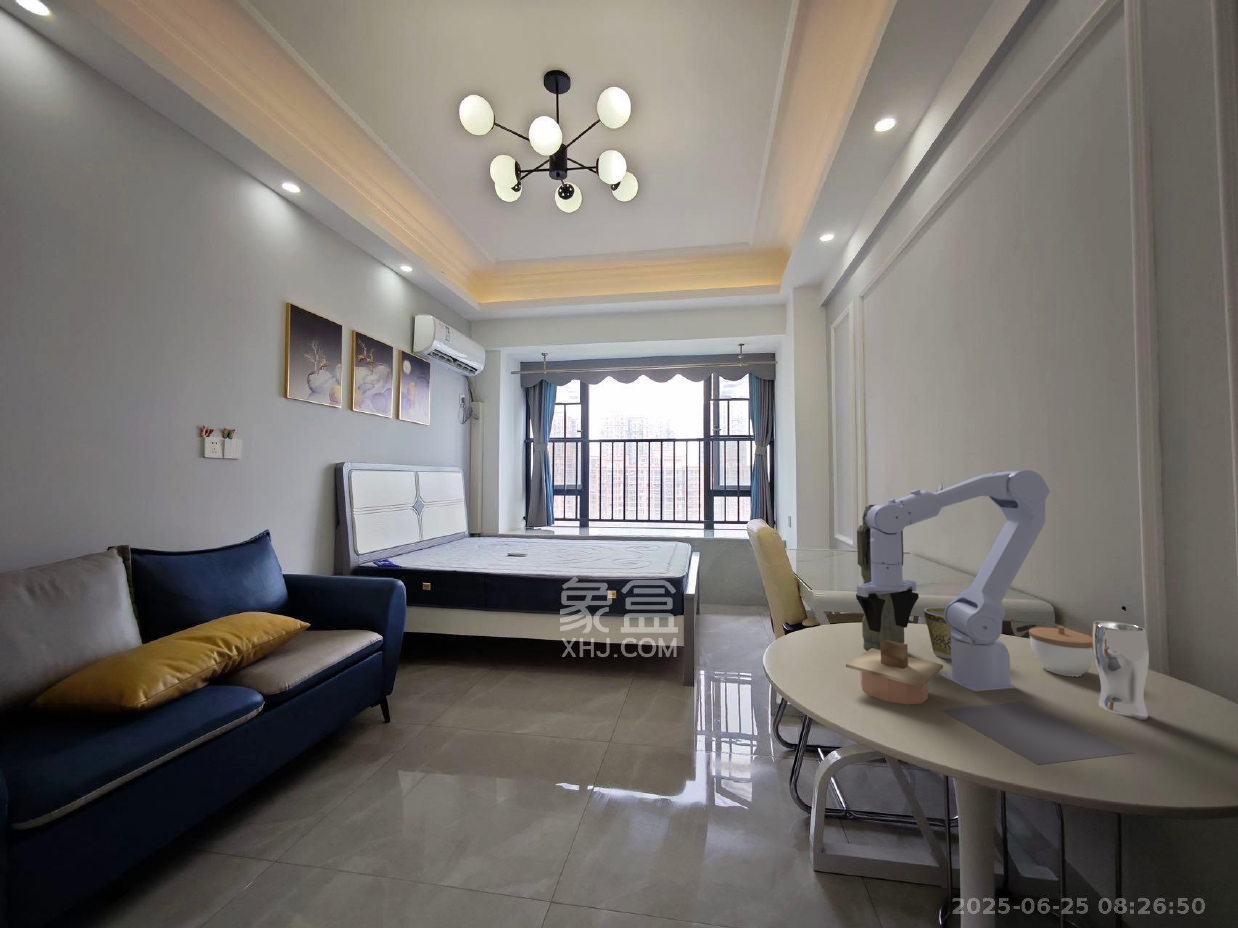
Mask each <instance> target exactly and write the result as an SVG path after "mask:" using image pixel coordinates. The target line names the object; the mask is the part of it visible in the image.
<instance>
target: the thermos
mask: <svg viewBox="0 0 1238 928" xmlns="http://www.w3.org/2000/svg"><path fill="white" fill-rule="evenodd" d="M875 505H876V504H868V506H865V508H864V511H863V513H862V524H861V525H859V526H858V528H857V529H856V541H857V543H856V544H857V545H856V546H857V548H856V549H857V565H858V566H859V567H860V575H861V577H862V579H863V581H862V582H863V584H866V583H869V582H871V546H870V539H871V534H870V527H869V526H868V525H867V523H866V521H865V517H867V513H868V511H869V510H870V508H872V507H873V506H875ZM903 532H904V529H903V530H902V531H901V543H902V567H903V566H904V533H903ZM877 596H878V598H880V599H884V600H886V601H885V603H884V606H883V610H882V615H881V629H880V632H875V631H872V630H869V626H868V623H867V619H866V616H865V614H864V613H863V617H862V620H861V623H862V624H861V628H862V629H861V631H862V632H861V634H862V638H863V649H864V650H865V651H868V650H870V649H871V648H873V649H878V650H881V645H880V642H882V641H883V640H889V641H894V642H898V643H903V644H905V628H904V627H901V626H897V625H896V623H895V616H894V607H893V602H892V599H891V596H890V594H889V593H886V594H878V595H877Z"/></svg>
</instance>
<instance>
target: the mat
mask: <svg viewBox="0 0 1238 928" xmlns="http://www.w3.org/2000/svg"><path fill="white" fill-rule="evenodd" d="M940 711H941V712H943V713H945V714H947V715H949V716H950V717H952V718H954V719H956V720H957V721H959V722H961V723H962V724H964V725H966V726H968V727H970V728H971V729H973V730H975V731H976V732H979V733H981V734H983V736H986V737H987V738H989V739H991V740H993V741H994V742H997V743H998V744H1000V745H1002V746H1003V747H1005V748H1007V749H1009V750H1010V751H1012V752H1014V753H1016V754H1017V755H1020V756H1021V757H1023V758H1025V759H1026V760H1027V761H1030V762H1032V763H1033V764H1036V765H1037V766H1040V765H1050V764H1055V763H1056V764H1057V763H1064V762H1072V761H1074V762H1075V761H1079V760H1088V759H1097V758H1104V757H1112V756H1121V755H1129V754H1135V752H1134V751H1132V750H1129V749H1128V748H1126V747H1123V746H1121V745H1119V744H1116V743H1114V742H1112V741H1110V740H1107V739H1105V738H1103V737H1101V736H1099V735H1097V734H1094V733H1092V732H1089V731H1088V730H1085V729H1083V728H1081V727H1079V726H1077V725H1074V724H1072V723H1070V722H1068V721H1065V720H1064V719H1061V718H1059V717H1056V716H1054V715H1053V714H1049V713H1048V712H1045V711H1043V710H1041V709H1038V708H1037V707H1034V706H1032V705H1030V704H1027V703H1026V702H1024V701H1019V702H1018V701H1017V702H1007V703H996V704H988V705H986V704H985V705H977V706H965V707H956V708H944V709H940Z"/></svg>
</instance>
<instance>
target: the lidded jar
mask: <svg viewBox="0 0 1238 928" xmlns="http://www.w3.org/2000/svg"><path fill="white" fill-rule="evenodd" d="M1028 636H1029V643H1030V649H1031V652H1032V654H1033V656H1034V658H1035V659H1036V661H1037V662H1038V663H1039V664H1040V665H1042V666H1043V669H1044V670H1045V671H1047V672H1050V673H1053V674H1055V675H1061V676H1064V677H1071V676H1072V677H1073V678H1079V676H1080V677H1083V675H1084V674H1085V673H1087V672H1089V671H1090V670H1091V669H1092V667H1093V666H1094V664H1095V660H1094V655H1093V647H1092V636H1090V635H1089V634H1085V633H1082V632H1078V631H1073V630H1070V629H1069V630H1068V629H1065V626H1060V625H1059V626H1057V628H1055V627H1041V626H1040V627H1032V628H1030V629H1029V630H1028ZM1082 674H1083V675H1082ZM1074 676H1075V677H1074ZM1072 677H1071V678H1072Z"/></svg>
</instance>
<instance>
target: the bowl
mask: <svg viewBox="0 0 1238 928" xmlns="http://www.w3.org/2000/svg"><path fill="white" fill-rule="evenodd" d="M859 673H860V675H859V676H860V686H861V690H862V691H863V692H865V693H867V694H868V695H870V696H871V697H872V698H873V697H874V698H876V699H879V700H883V701H885V702H889V703H893V704H894V703H895V704H903V705H915V704H916V705H917V704H923V703H924V702H925V701H927V700H928V699H929V691H928V690H929V688H928V687H929V686H928V683H929V682H928V683H927V684H925V685H924V686H923V687H918V686H914V685H910V684H907V683H903V682H899V681H896V680H892V679H888V678H884V677H881V676H877V675H873V674H869V673H866V672H862V671H859Z"/></svg>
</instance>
